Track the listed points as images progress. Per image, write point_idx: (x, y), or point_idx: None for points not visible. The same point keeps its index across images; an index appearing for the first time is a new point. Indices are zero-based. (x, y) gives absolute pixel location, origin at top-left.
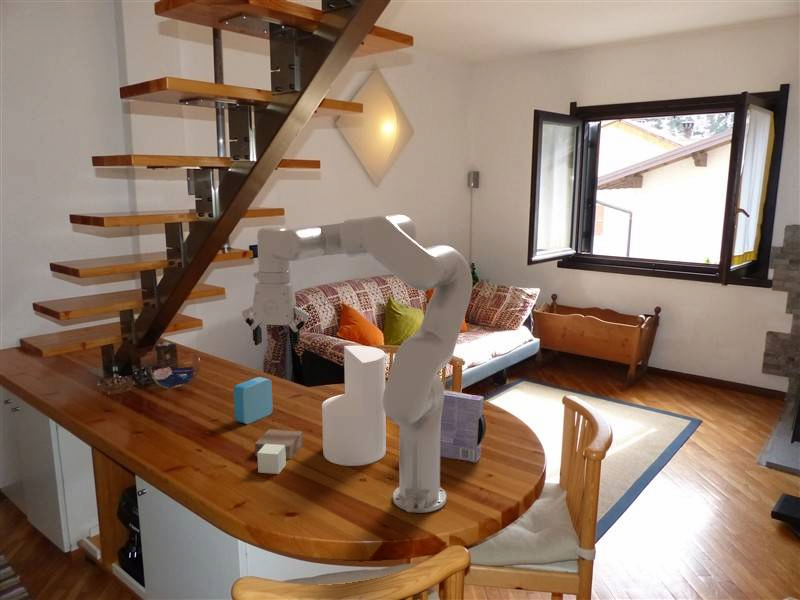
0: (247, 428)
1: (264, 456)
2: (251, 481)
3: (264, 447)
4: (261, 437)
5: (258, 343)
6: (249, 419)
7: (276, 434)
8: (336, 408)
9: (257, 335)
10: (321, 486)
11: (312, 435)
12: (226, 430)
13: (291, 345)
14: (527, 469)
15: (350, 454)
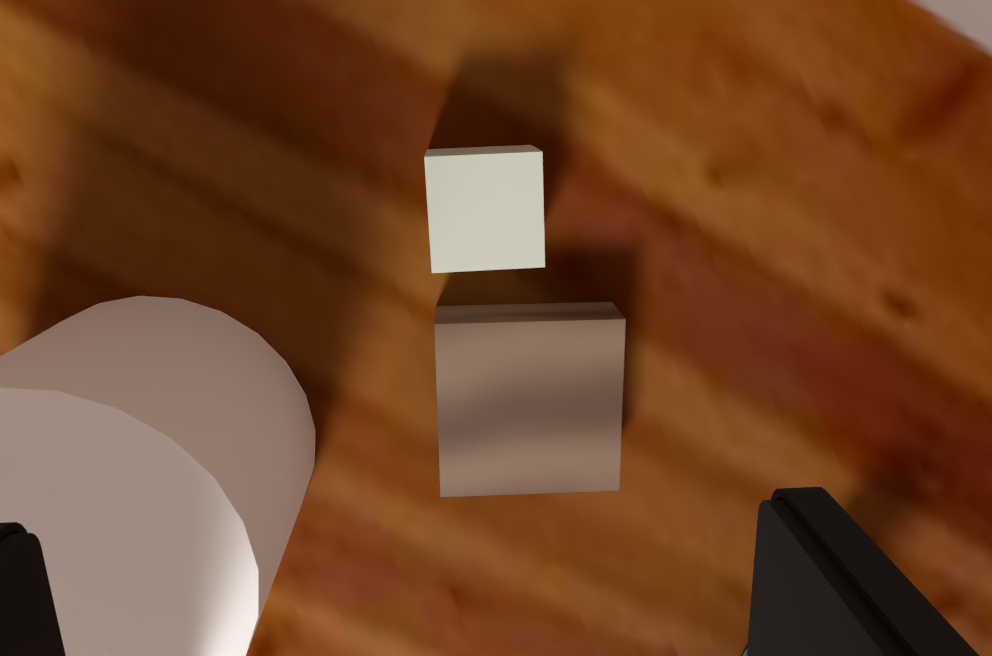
0: None
1: (500, 151)
2: (525, 48)
3: (531, 223)
4: (620, 392)
5: (763, 554)
6: None
7: (558, 440)
8: (123, 494)
9: (851, 642)
10: (170, 66)
11: (430, 552)
12: None
13: (11, 546)
14: None
15: (97, 314)
